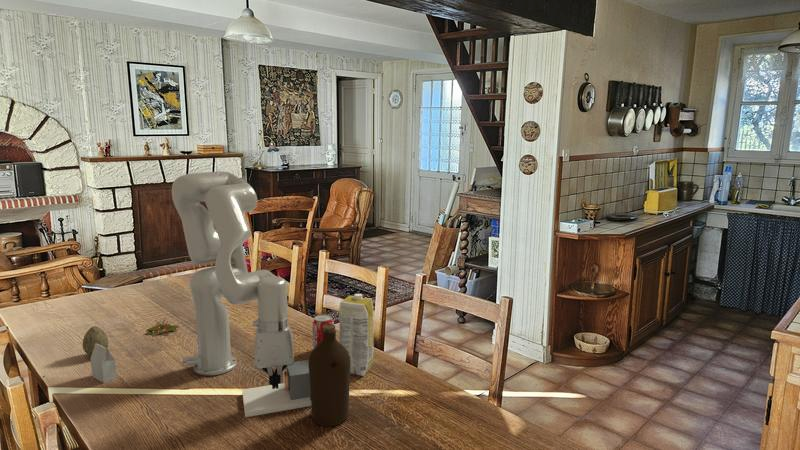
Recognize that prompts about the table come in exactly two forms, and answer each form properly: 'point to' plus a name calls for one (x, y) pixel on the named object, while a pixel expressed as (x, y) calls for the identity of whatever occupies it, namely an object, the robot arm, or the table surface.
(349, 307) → the juice carton
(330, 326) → the olive oil
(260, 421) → the table surface
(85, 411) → the table surface
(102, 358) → the grey angular block
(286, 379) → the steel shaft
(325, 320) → the soda can
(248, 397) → the bearing board
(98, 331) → the decorative egg
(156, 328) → the green leafy plant
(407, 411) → the table surface
